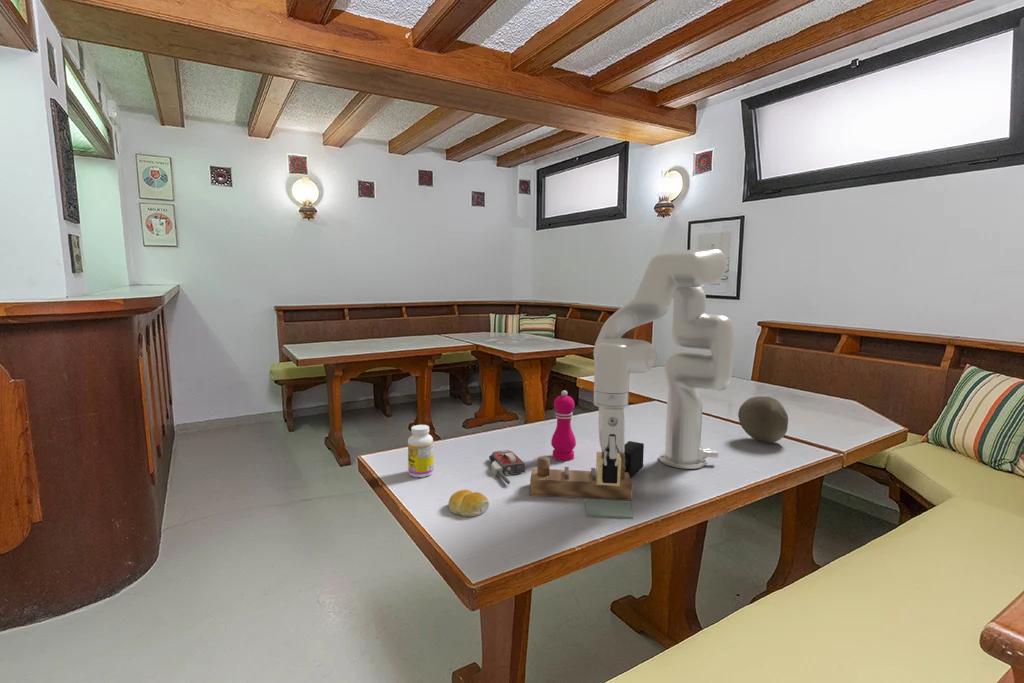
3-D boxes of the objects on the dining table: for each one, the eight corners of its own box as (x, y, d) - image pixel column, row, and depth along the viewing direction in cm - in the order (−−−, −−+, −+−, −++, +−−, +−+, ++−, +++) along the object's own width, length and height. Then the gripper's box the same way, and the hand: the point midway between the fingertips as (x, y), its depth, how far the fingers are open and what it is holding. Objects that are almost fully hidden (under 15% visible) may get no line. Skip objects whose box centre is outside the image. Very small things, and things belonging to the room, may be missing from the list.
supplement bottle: (406, 471, 133) (405, 425, 132) (430, 467, 136) (429, 422, 134) (411, 480, 127) (410, 431, 126) (436, 476, 130) (435, 429, 128)
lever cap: (617, 478, 112) (619, 450, 111) (619, 486, 108) (621, 457, 107) (595, 476, 112) (597, 449, 112) (596, 484, 108) (598, 455, 107)
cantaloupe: (761, 433, 168) (764, 390, 166) (797, 446, 154) (800, 400, 153) (728, 437, 163) (730, 393, 161) (761, 451, 150) (764, 403, 148)
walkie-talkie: (482, 461, 141) (504, 488, 123) (482, 447, 141) (504, 471, 122) (511, 458, 144) (537, 484, 126) (511, 443, 144) (537, 467, 125)
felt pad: (628, 502, 114) (628, 500, 114) (633, 518, 106) (633, 517, 106) (584, 500, 115) (584, 498, 115) (586, 516, 107) (586, 514, 107)
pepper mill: (574, 462, 140) (575, 393, 138) (549, 460, 142) (550, 392, 139) (576, 453, 147) (577, 388, 145) (552, 452, 149) (553, 387, 146)
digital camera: (624, 463, 140) (625, 439, 139) (643, 467, 137) (643, 443, 136) (610, 475, 131) (611, 449, 130) (630, 479, 128) (630, 453, 127)
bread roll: (462, 498, 117) (462, 482, 116) (493, 507, 112) (493, 490, 112) (440, 511, 110) (439, 494, 110) (472, 521, 105) (471, 504, 105)
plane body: (627, 487, 123) (628, 449, 121) (631, 500, 116) (633, 459, 114) (531, 483, 125) (532, 445, 124) (530, 495, 118) (530, 455, 117)
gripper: (633, 408, 99) (630, 494, 101) (623, 390, 116) (621, 465, 118) (596, 407, 100) (594, 493, 102) (591, 390, 117) (589, 464, 119)
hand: (608, 477), depth 110 cm, fingers closed on lever cap, 4 cm apart
